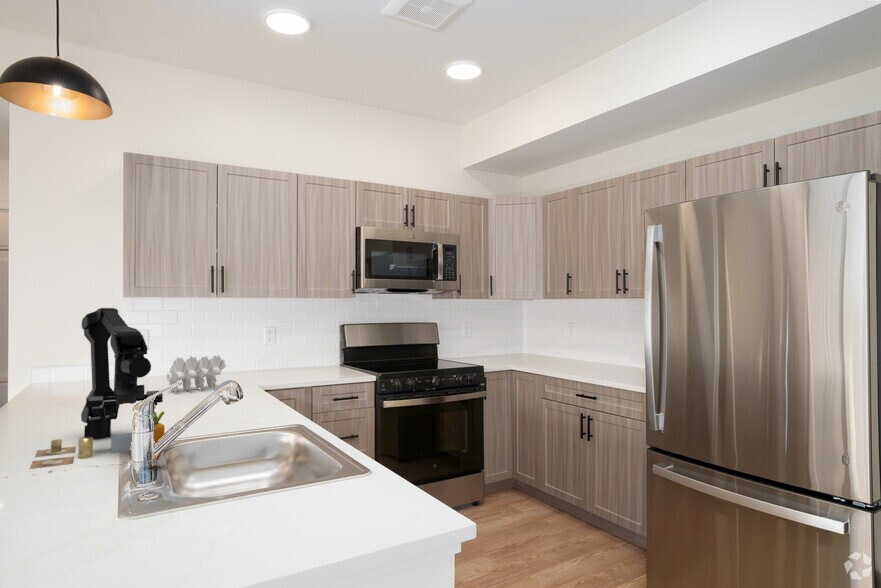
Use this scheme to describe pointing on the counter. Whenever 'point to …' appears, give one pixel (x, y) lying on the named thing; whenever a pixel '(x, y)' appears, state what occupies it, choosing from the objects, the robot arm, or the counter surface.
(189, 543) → the counter surface
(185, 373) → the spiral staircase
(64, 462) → the build board
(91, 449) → the pin
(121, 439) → the grey block
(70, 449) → the board
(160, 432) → the carrot
